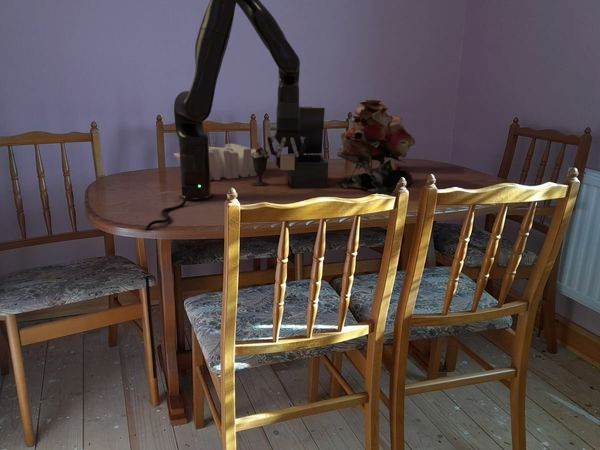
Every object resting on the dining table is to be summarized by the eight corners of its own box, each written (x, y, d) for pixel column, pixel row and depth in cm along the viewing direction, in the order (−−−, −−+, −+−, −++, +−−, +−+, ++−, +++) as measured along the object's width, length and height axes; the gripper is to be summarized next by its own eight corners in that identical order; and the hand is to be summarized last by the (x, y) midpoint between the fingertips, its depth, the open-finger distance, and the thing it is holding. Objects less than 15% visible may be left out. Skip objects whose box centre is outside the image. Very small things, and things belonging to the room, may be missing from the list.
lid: (324, 108, 191) (322, 103, 196) (288, 108, 190) (287, 103, 195) (321, 153, 201) (320, 147, 205) (287, 153, 200) (286, 147, 204)
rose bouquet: (418, 180, 200) (424, 98, 191) (389, 196, 176) (394, 103, 167) (355, 173, 213) (358, 95, 204) (320, 187, 189) (322, 99, 180)
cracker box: (396, 173, 213) (399, 119, 207) (380, 172, 215) (383, 119, 209) (399, 166, 226) (402, 116, 220) (384, 165, 228) (387, 115, 222)
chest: (327, 187, 188) (328, 162, 185) (291, 188, 187) (291, 162, 184) (321, 177, 204) (321, 154, 201) (287, 177, 203) (287, 154, 200)
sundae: (252, 186, 188) (252, 144, 183) (249, 182, 194) (248, 141, 190) (271, 186, 190) (271, 143, 185) (267, 181, 196) (267, 140, 191)
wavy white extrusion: (185, 183, 192) (184, 154, 188) (172, 174, 205) (171, 147, 202) (273, 174, 208) (273, 147, 205) (255, 167, 222) (255, 141, 219)
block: (294, 170, 177) (294, 156, 176) (280, 169, 177) (280, 156, 176) (293, 167, 182) (293, 153, 180) (279, 167, 181) (280, 153, 180)
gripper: (266, 116, 170) (265, 169, 175) (311, 117, 171) (309, 170, 176) (265, 114, 177) (265, 165, 182) (308, 115, 178) (307, 165, 183)
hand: (287, 167), depth 179 cm, fingers closed on block, 4 cm apart
